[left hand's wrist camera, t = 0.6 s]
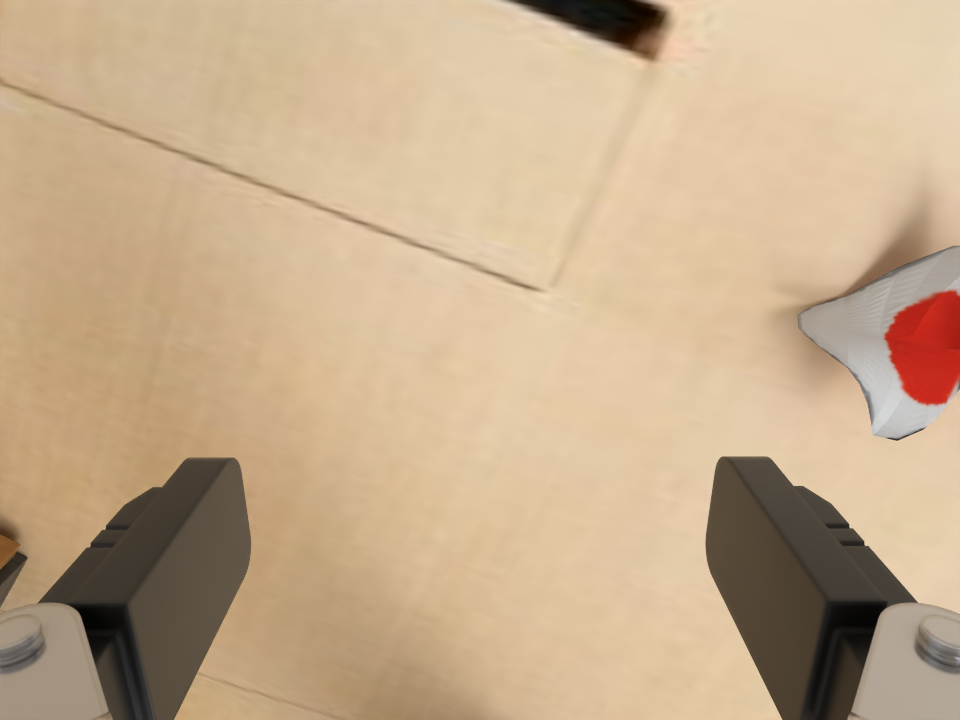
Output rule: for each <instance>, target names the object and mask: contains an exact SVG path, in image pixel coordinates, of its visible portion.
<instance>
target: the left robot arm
mask: <svg viewBox="0 0 960 720" xmlns="http://www.w3.org/2000/svg"><path fill="white" fill-rule="evenodd" d="M250 553H251V537H250V529H249V522H248V515H247V508H246V501H245V494H244V487H243V480H242V473H241V468H240V465H239V463H238V461H237V460H236V459H235V458H187V459H186V460H185V461H184V462H183V463H182V464H181V465H180V466H179V468H178V469H177V470H176V471H175V473H174V474H173V475H172V476H171V477H170V479H169V480H168V481H167V482H166V483H165V485H164V486H163V487H153V488H151V489H149V490H148V491H146V492H145V493H143V494H141V495H140V496H138V497H137V498H135V499H133V500H132V501H130V502H129V503H127V504H125V505H124V506H123V507H122V508H121V510H120V511H119V512H118V513H117V514H116V515H115V516H114V517H113V519H112V520H111V521H110V522H109V523H108V524H107V525H106V530H102V531H101V532H100V533H99V534H98V536H97V537H96V538H95V539H94V540H93V541H92V542H91V547H90V548H86V549H85V550H84V551H83V552H82V554H81V555H80V556H79V557H78V558H77V559H76V560H75V562H74V563H73V564H72V565H71V566H70V567H69V568H68V569H67V571H66V572H65V573H64V574H63V575H62V576H61V577H60V578H59V580H58V581H57V582H56V583H55V584H54V585H53V586H52V588H51V589H50V590H49V591H48V592H47V593H46V594H45V595H44V597H43V598H42V599H41V600H40V601H39V602H38V603H37V604H31V605H27V606H22V607H19V608H15V609H12V610H9V611H7V612H4V613H2V614H0V720H174V718H175V716H176V714H177V712H178V710H179V708H180V706H181V704H182V702H183V700H184V698H185V696H186V694H187V692H188V690H189V688H190V686H191V684H192V682H193V680H194V678H195V676H196V674H197V672H198V670H199V668H200V666H201V664H202V662H203V660H204V658H205V656H206V654H207V652H208V650H209V648H210V646H211V644H212V642H213V640H214V638H215V636H216V634H217V632H218V630H219V628H220V626H221V624H222V622H223V620H224V618H225V616H226V614H227V611H228V609H229V607H230V605H231V603H232V601H233V599H234V597H235V595H236V593H237V591H238V589H239V587H240V585H241V583H242V581H243V579H244V577H245V575H246V572H247V569H248V565H249V560H250ZM706 555H707V562H708V566H709V569H710V572H711V575H712V577H713V579H714V581H715V583H716V585H717V587H718V589H719V591H720V593H721V595H722V597H723V599H724V601H725V603H726V606H727V608H728V610H729V612H730V614H731V616H732V618H733V620H734V622H735V624H736V626H737V628H738V630H739V632H740V634H741V636H742V638H743V640H744V642H745V644H746V646H747V648H748V650H749V652H750V654H751V656H752V658H753V661H754V663H755V665H756V667H757V669H758V671H759V673H760V675H761V677H762V679H763V681H764V683H765V685H766V687H767V689H768V691H769V693H770V695H771V697H772V699H773V701H774V703H775V705H776V707H777V709H778V711H779V713H780V716H781V718H782V720H960V614H958V613H956V612H953V611H951V610H948V609H945V608H941V607H938V606H933V605H929V604H922V603H918V602H917V601H916V600H915V599H914V598H913V596H912V595H911V594H910V593H909V592H908V591H907V590H906V589H905V587H904V586H903V585H902V584H901V583H900V582H899V581H898V579H897V578H896V577H895V576H894V575H893V574H892V573H891V571H890V570H889V569H888V568H887V567H886V566H885V565H884V563H883V562H882V561H881V560H880V559H879V558H878V557H877V555H876V554H875V553H874V552H873V551H872V550H871V549H870V547H869V546H865V545H864V541H863V539H862V538H861V537H860V536H859V535H858V534H857V533H856V531H855V530H854V529H850V528H849V524H848V522H847V521H846V520H845V519H844V518H843V517H842V516H841V514H840V513H839V512H838V511H837V510H836V509H835V508H834V506H833V505H832V504H831V503H829V502H828V501H826V500H824V499H823V498H821V497H820V496H818V495H816V494H815V493H813V492H812V491H810V490H808V489H807V488H805V487H804V486H793V485H792V484H791V482H790V481H789V480H788V479H787V478H786V476H785V475H784V474H783V473H782V471H781V470H780V469H779V468H778V467H777V465H776V464H775V463H774V462H773V461H772V460H771V459H770V458H769V457H721V458H720V459H719V460H718V462H717V465H716V469H715V475H714V482H713V489H712V496H711V503H710V510H709V517H708V525H707V532H706Z"/></svg>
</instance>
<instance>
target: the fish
mask: <svg viewBox="0 0 960 720" xmlns="http://www.w3.org/2000/svg"><path fill="white" fill-rule="evenodd" d="M798 326H799V329H800V330H801V331H802V332H803V333H804V334H805V335H806V336H807V337H808V338H810V339H811V340H812V341H813V342H815V343H816V344H817V345H818V346H820V347H821V348H822V349H823V350H825V351H826V352H827V353H828V354H830V355H831V356H832V357H834V358H835V359H836V360H838V361H839V362H841V363H842V364H843V365H845V366H846V367H847V368H848V369H849V370H850V372H851V373H852V374H853V376H854V377H855V378H856V380H857V381H858V382H859V384H860V386H861V389H862V391H863V393H864V396H865V398H866V401H867V403H868V407H869V413H870V418H871V424H872V432H873V435H875V436H879V437H884V438H888V439H892V440H896V441H898V440H900V439H902V438H905V437H907V436H909V435H912V434H914V433H916V432H919V431H921V430H923V429H925V428H926V427H927V426H928V425H929V424H930V423H931V422H932V421H934V420H935V419H936V418H937V417H938V416H939V415H940V413H941V412H942V411H943V410H944V409H945V407H946V406H947V405H948V404H949V402H950V401H951V400H952V398H953V397H954V396H955V394H956V393H957V392H958V391H959V389H960V246H952V247H949V248H947V249H944V250H942V251H939V252H936V253H934V254H931V255H929V256H926V257H923V258H921V259H918V260H916V261H913V262H910V263H908V264H905V265H902V266H901V267H899V268H897V269H895V270H893V271H891V272H889V273H888V274H886V275H884V276H882V277H880V278H878V279H877V280H875V281H873V282H871V283H869V284H867V285H865V286H863V287H862V288H860V289H858V290H856V291H854V292H852V293H850V294H848V295H846V296H844V297H841V298H837V299H834V300H830V301H827V302H824V303H822V304H819V305H816V306H814V307H811V308H809V309H807V310H805V311H803V312H802V313H800V314H799V315H798Z"/></svg>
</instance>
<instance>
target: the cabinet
mask: <svg viewBox="0 0 960 720" xmlns="http://www.w3.org/2000/svg"><path fill="white" fill-rule="evenodd" d="M26 560H27V557H25V556H23V555H21V554H19V553H17V552H16V553H15V555H14V557H13V558H12V559H11V560H10V561H9V562H8V563H7V564H6V565H5V566H4V567H3V568H2V569H1V570H0V607H1V605H2V604H3V602H4V600H5V598H6V596H7V594H8V593H9V591H10V589H11V587H12V585H13V584H14V582H15V580H16V578H17V576H18V575H19V573H20V571H21V569H22V567H23V566H24V564H25V562H26Z"/></svg>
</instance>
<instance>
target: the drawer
mask: <svg viewBox="0 0 960 720" xmlns="http://www.w3.org/2000/svg"><path fill="white" fill-rule="evenodd" d="M19 546H20V544H19V543H17V542H15V541H13V540H11V539H9V538H7V537H5V536H3V535H1V534H0V570H1V569H2V568H3V567H4V566H5V565H6V564H7V563H8V562H9V561H10V560H11V559H12V558H13V557H14V555H15V553H16V552H17V550H18V548H19Z"/></svg>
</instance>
